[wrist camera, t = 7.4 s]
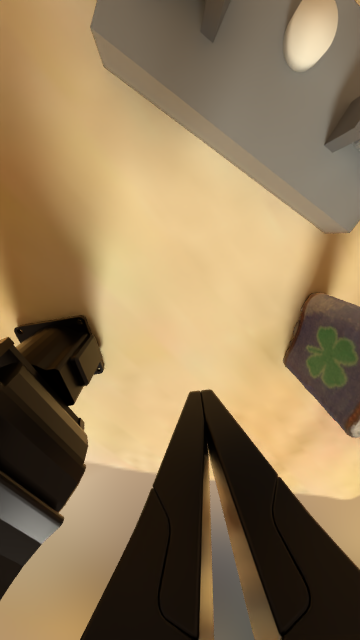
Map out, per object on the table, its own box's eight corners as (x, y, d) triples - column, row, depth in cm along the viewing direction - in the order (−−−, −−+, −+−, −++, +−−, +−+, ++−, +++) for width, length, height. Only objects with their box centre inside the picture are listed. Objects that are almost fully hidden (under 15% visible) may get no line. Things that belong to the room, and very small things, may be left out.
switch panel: (103, 66, 12) (71, -27, 8) (160, -131, 10) (158, -426, 5) (324, 233, 17) (379, 232, 13) (399, 131, 15) (497, 87, 10)
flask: (307, 290, 19) (457, 347, 9) (333, 293, 20) (506, 350, 10) (278, 367, 23) (366, 466, 13) (301, 368, 23) (404, 465, 13)
